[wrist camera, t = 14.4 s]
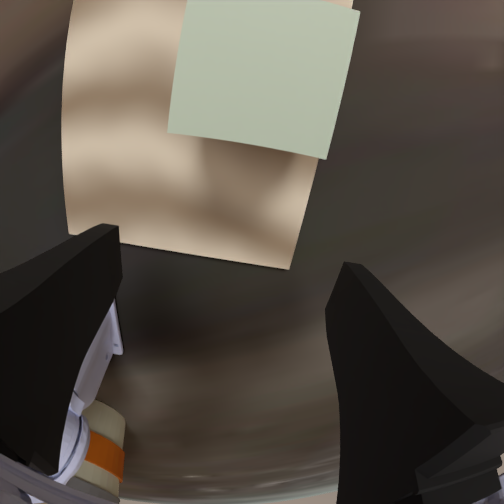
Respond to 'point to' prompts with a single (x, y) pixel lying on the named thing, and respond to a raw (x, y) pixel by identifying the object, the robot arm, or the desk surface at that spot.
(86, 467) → the reusable coffee cup
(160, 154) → the baseplate
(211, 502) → the desk surface
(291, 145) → the sage block
